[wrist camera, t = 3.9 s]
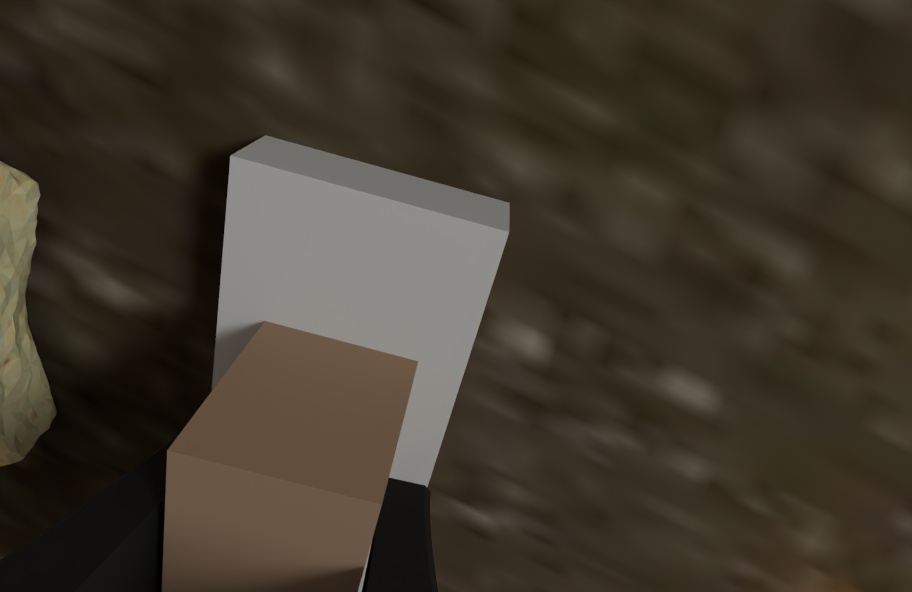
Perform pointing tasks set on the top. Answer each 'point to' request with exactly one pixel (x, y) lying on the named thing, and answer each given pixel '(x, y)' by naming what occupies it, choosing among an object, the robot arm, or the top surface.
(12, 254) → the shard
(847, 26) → the top surface
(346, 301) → the grout float
